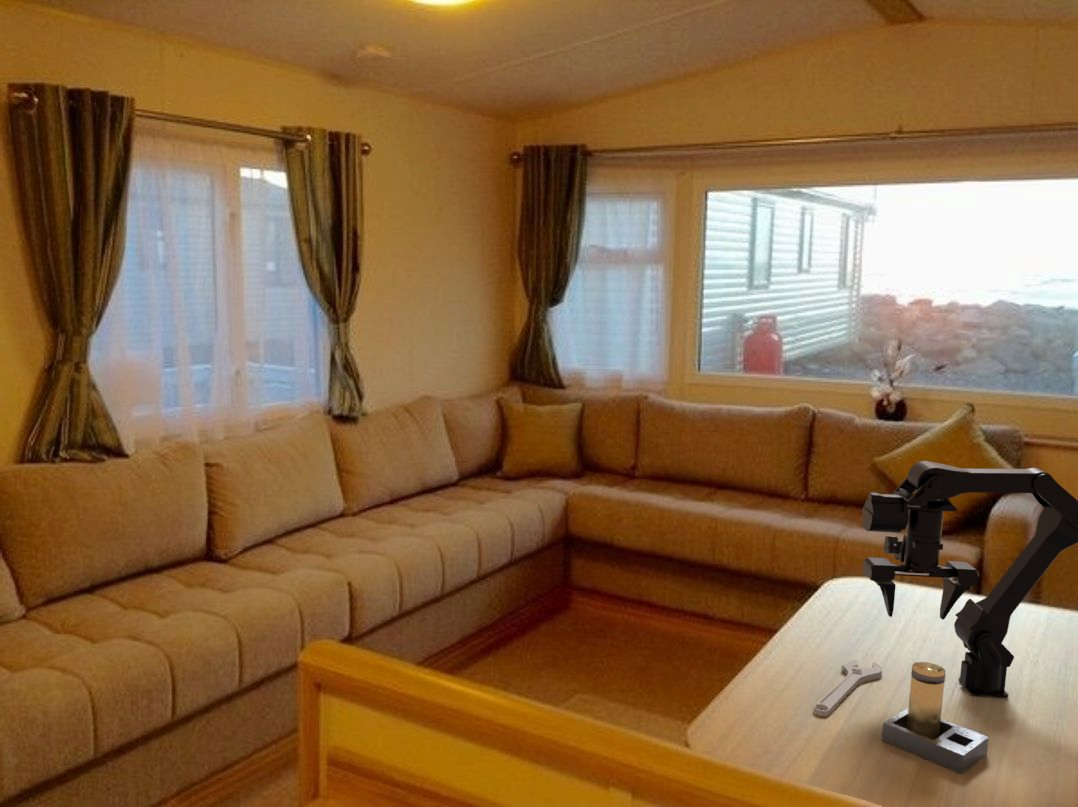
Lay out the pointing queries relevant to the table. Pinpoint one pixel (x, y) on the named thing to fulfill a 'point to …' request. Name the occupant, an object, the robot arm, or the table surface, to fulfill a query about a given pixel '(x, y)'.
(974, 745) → the grey rectangular holder
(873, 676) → the adjustable wrench
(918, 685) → the gold tin can
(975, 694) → the robot arm
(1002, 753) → the table surface
